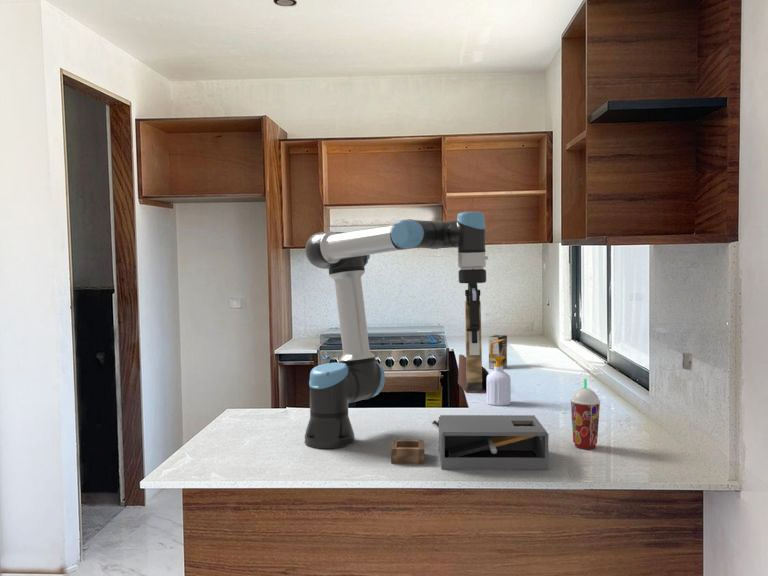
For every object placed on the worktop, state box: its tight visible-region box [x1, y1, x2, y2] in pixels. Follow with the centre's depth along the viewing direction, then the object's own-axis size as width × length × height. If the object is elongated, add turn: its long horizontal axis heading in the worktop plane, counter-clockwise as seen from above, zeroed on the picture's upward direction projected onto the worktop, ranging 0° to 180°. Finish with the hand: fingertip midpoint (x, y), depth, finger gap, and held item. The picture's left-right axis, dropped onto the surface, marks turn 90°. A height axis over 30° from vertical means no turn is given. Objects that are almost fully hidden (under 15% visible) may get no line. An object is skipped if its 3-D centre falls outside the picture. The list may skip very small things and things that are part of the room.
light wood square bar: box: [464, 300, 483, 390], centre depth 179 cm, size 4×4×24 cm
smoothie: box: [570, 378, 601, 450], centre depth 191 cm, size 8×8×20 cm
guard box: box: [438, 414, 549, 471], centre depth 180 cm, size 28×18×10 cm, turn 87°
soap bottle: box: [486, 339, 512, 407], centre depth 247 cm, size 9×9×25 cm
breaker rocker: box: [447, 436, 535, 457], centre depth 180 cm, size 24×15×2 cm, turn 87°
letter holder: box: [457, 354, 490, 394], centre depth 277 cm, size 10×20×14 cm, turn 4°
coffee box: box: [488, 334, 508, 370], centre depth 326 cm, size 9×6×16 cm
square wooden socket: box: [390, 439, 425, 465], centre depth 181 cm, size 9×9×4 cm
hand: (473, 353), depth 179 cm, fingers closed on light wood square bar, 4 cm apart
